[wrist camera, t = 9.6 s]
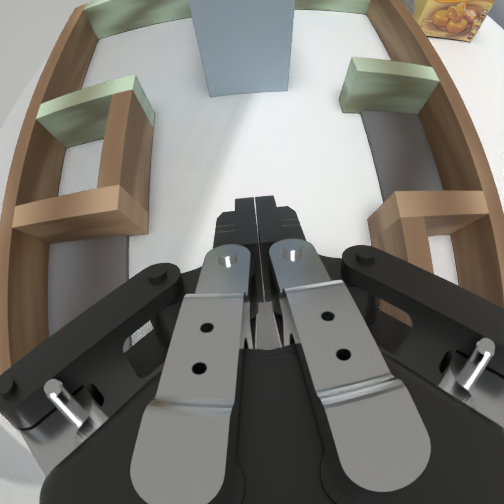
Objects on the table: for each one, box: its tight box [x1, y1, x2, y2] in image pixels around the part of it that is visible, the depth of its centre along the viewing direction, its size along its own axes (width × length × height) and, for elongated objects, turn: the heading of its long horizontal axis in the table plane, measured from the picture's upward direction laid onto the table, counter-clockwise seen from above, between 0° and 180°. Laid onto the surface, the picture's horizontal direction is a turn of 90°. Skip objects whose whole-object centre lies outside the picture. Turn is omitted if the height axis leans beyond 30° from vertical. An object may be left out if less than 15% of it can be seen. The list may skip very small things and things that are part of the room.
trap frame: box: [0, 0, 504, 375], centre depth 16 cm, size 27×30×4 cm
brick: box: [188, 0, 295, 97], centre depth 16 cm, size 5×10×8 cm, turn 4°
